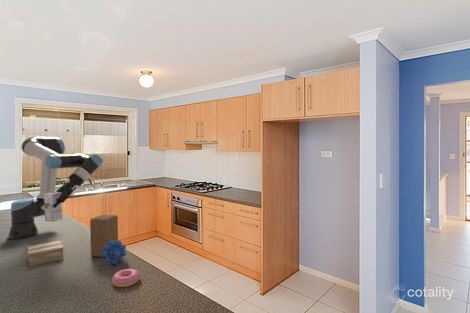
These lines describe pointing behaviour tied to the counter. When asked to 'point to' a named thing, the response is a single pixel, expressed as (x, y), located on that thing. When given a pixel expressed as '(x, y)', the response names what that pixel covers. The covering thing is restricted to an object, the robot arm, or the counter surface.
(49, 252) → the birch block
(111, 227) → the wooden block
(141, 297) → the counter surface
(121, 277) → the doughnut
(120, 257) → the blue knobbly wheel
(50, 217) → the syrup box
